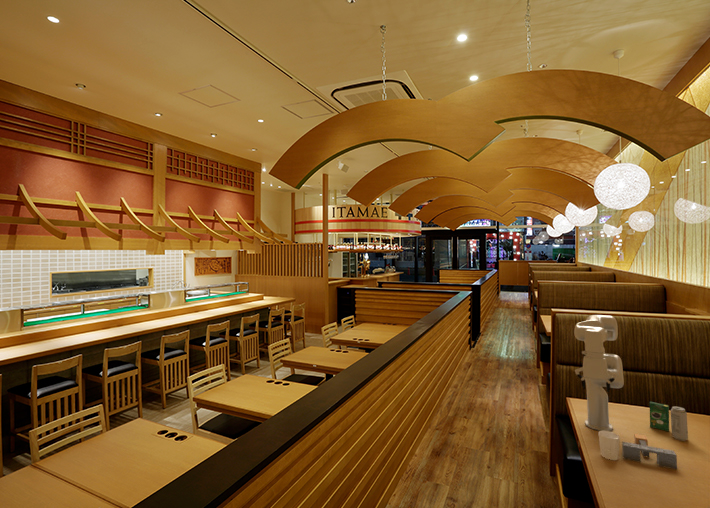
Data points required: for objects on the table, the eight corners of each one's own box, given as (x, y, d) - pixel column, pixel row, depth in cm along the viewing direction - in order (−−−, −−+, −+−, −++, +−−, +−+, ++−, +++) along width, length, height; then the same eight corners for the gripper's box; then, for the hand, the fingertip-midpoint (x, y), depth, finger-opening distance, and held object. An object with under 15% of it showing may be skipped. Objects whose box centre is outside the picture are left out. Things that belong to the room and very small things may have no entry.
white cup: (616, 453, 167) (615, 431, 167) (623, 462, 159) (622, 439, 160) (596, 451, 169) (596, 429, 170) (602, 459, 162) (601, 437, 162)
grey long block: (622, 454, 166) (621, 441, 166) (674, 464, 157) (673, 450, 157) (623, 458, 162) (623, 445, 162) (677, 469, 153) (676, 455, 153)
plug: (634, 441, 177) (634, 433, 177) (645, 444, 175) (645, 435, 175) (640, 455, 165) (640, 446, 165) (652, 458, 162) (652, 449, 162)
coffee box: (670, 430, 188) (669, 404, 189) (669, 432, 186) (668, 406, 187) (650, 425, 194) (649, 401, 194) (649, 427, 192) (648, 402, 192)
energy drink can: (691, 441, 176) (689, 411, 176) (677, 441, 177) (675, 410, 177) (682, 436, 182) (681, 406, 182) (669, 435, 183) (667, 405, 183)
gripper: (574, 354, 178) (575, 389, 178) (616, 358, 170) (618, 394, 169) (573, 351, 185) (575, 384, 184) (614, 354, 176) (616, 389, 176)
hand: (595, 389), depth 177 cm, fingers open, 9 cm apart
